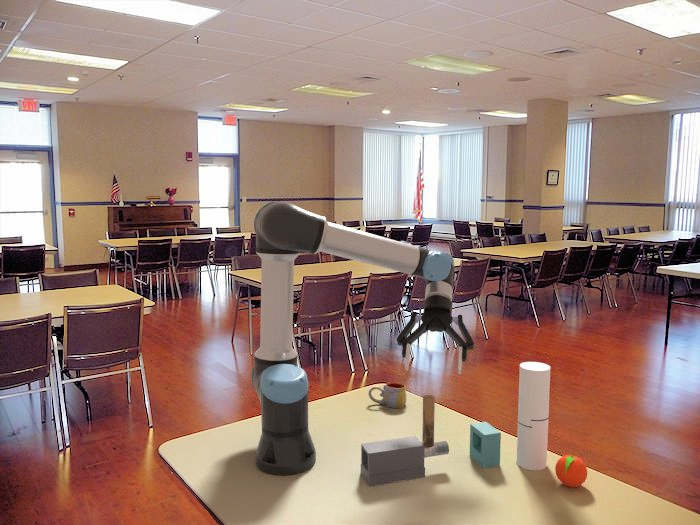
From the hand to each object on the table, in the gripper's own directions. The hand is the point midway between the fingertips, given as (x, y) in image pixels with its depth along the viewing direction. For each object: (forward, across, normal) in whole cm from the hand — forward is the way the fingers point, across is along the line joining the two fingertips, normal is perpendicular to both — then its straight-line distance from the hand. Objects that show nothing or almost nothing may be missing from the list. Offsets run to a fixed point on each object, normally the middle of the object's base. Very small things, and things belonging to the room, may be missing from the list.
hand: (432, 370), depth 148 cm
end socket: (+17, -13, -13) cm, 26 cm away
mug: (-5, +17, -36) cm, 40 cm away
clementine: (+24, -33, -8) cm, 41 cm away
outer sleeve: (+26, +8, -5) cm, 28 cm away
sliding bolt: (+22, +4, -4) cm, 23 cm away
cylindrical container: (+17, -25, -14) cm, 33 cm away
